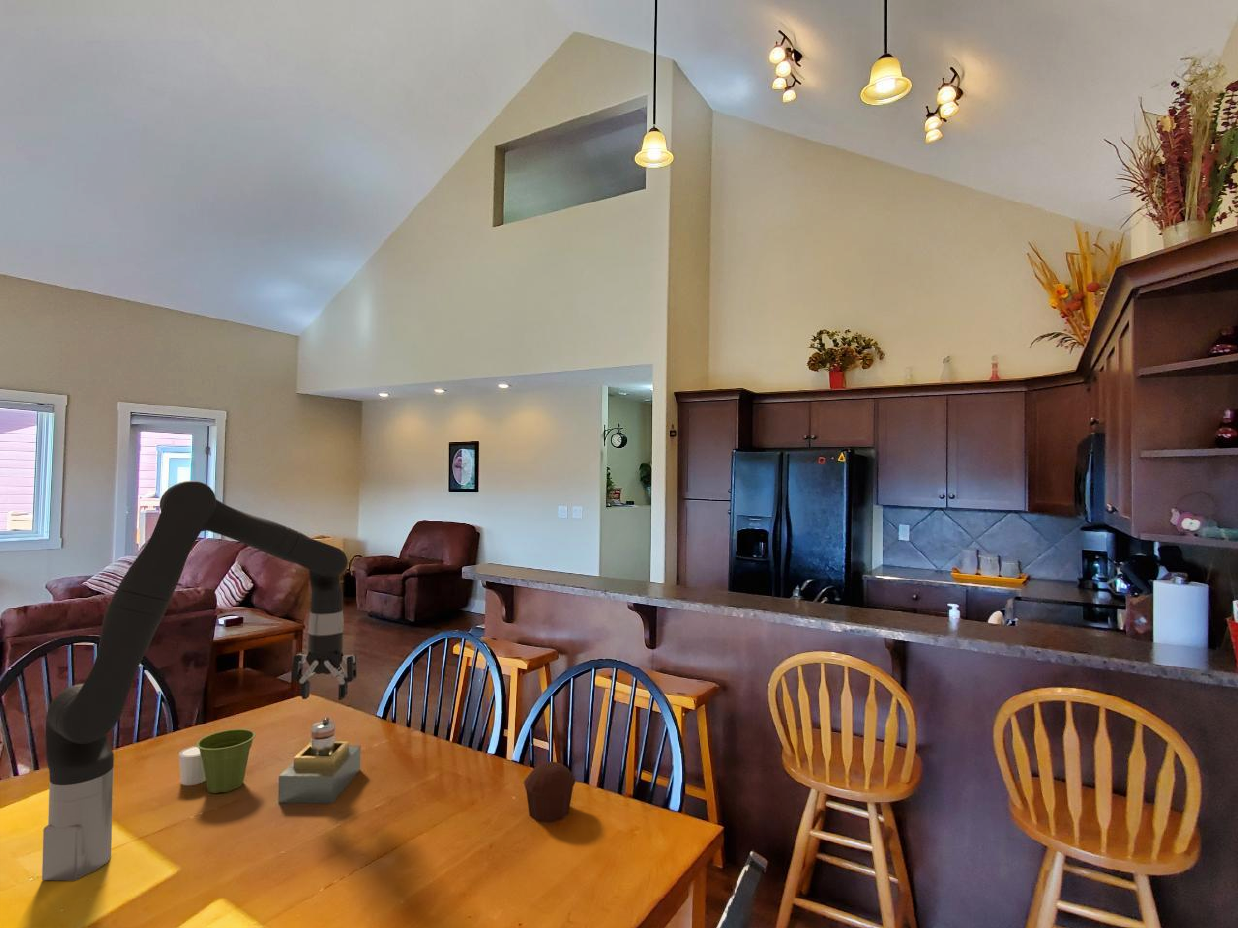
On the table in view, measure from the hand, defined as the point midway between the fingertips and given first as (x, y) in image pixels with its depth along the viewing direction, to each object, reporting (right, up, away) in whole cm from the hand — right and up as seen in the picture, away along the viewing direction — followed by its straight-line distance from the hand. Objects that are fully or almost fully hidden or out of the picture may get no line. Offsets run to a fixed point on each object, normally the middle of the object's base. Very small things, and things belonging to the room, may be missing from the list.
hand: (323, 698), depth 150 cm
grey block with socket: (-1, -21, 0) cm, 21 cm away
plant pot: (-23, -20, -1) cm, 30 cm away
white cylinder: (-32, -20, +2) cm, 37 cm away
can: (0, -14, 0) cm, 14 cm away
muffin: (+55, -22, -9) cm, 60 cm away
